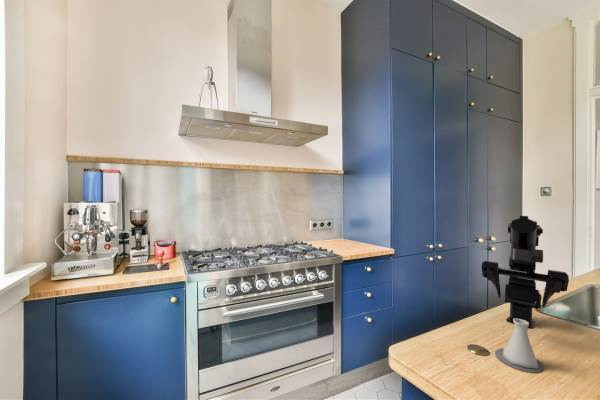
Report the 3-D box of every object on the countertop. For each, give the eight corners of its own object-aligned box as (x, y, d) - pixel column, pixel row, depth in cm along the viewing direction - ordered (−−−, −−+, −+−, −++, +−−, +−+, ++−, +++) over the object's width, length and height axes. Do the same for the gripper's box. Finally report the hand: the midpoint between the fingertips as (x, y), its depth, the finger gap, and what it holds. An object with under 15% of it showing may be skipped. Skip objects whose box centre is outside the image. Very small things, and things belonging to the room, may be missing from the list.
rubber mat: (501, 345, 75) (501, 344, 75) (546, 362, 68) (546, 361, 68) (489, 358, 69) (489, 357, 69) (538, 378, 62) (538, 377, 62)
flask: (508, 365, 66) (509, 325, 66) (497, 349, 73) (498, 313, 73) (544, 372, 64) (546, 330, 64) (530, 355, 71) (531, 317, 70)
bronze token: (471, 343, 77) (471, 342, 77) (491, 351, 73) (491, 350, 73) (464, 349, 73) (464, 348, 73) (485, 358, 70) (485, 357, 69)
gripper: (483, 234, 82) (476, 278, 74) (569, 242, 70) (573, 296, 62) (485, 255, 88) (479, 298, 80) (565, 266, 76) (568, 318, 68)
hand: (520, 302), depth 73 cm, fingers open, 9 cm apart
